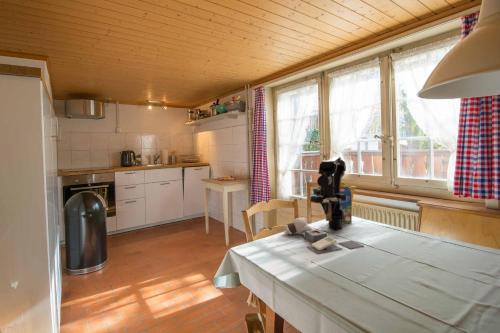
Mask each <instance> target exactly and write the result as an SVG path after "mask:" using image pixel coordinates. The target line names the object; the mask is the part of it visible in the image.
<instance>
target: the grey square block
mask: <svg viewBox="0 0 500 333" xmlns="http://www.w3.org/2000/svg"><path fill="white" fill-rule="evenodd" d="M313 232H317V234H314V233H313ZM327 236H328V233H327V232H324V231H323V230H321V229H319V228H316V229H313V230H308V231H305V233H304V239H305V240H307V241H308V242H310V243H311V244H313V243H315V242H317V241H319V240H321V239H323V238H325V237H327Z"/></svg>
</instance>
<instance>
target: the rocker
mask: <svg viewBox="0 0 500 333" xmlns="http://www.w3.org/2000/svg"><path fill="white" fill-rule="evenodd" d="M337 242H338V241H337V239H336V238H334V237H331V236H330V235H327V237H325V238H323V239H321V240H319V241H317V242H315V243H311V245H312V247H314V248H316V249H317V250H319V251H320V250H322V249H324V248H326V247H328V246H330V245H332V244H334V245H335V243H337Z"/></svg>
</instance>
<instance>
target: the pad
mask: <svg viewBox="0 0 500 333" xmlns="http://www.w3.org/2000/svg"><path fill="white" fill-rule="evenodd" d="M338 244H339V245H341V246H342V247H345V248H347V249H348V250H353V249H358V248H359V249H360V248H363V247H365V245H363V244H361V243H359V242H357V241H355V240H346V241H340V242H338Z"/></svg>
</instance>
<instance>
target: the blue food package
mask: <svg viewBox="0 0 500 333" xmlns="http://www.w3.org/2000/svg"><path fill="white" fill-rule="evenodd" d="M340 194H345V196H346V200H341V199H340V204H341V206H342V209H343V212H344V219H342V225H346V224H351V223H352V222H353V220H352V219H353V218H352V213H353V212H352V211H353V210H352V208H353V206H352V204H353V203H352V192H351V189H350V187H349V182H341V189H340Z"/></svg>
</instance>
